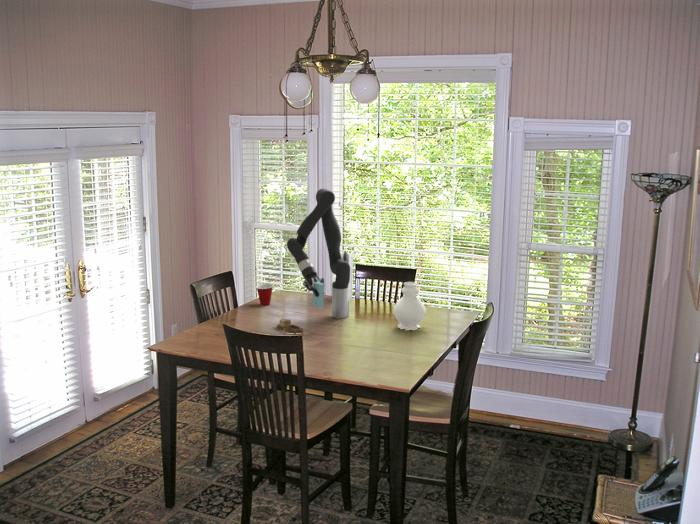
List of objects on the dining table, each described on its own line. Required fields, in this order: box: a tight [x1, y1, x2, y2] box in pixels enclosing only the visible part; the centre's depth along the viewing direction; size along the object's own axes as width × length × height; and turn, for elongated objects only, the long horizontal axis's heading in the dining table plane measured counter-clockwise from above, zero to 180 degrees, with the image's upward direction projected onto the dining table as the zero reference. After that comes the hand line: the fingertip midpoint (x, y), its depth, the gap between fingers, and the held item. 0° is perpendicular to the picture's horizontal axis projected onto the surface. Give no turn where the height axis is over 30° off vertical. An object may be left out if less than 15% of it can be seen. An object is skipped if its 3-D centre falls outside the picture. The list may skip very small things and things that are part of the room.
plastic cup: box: [255, 283, 274, 307], centre depth 437 cm, size 11×11×12 cm
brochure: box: [340, 249, 354, 301], centre depth 455 cm, size 14×6×30 cm, turn 168°
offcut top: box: [279, 317, 292, 325], centre depth 388 cm, size 5×4×2 cm
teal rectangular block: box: [311, 281, 326, 309], centre depth 386 cm, size 3×6×13 cm, turn 40°
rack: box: [272, 323, 315, 336], centre depth 384 cm, size 14×21×3 cm, turn 40°
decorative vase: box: [393, 281, 427, 331], centre depth 395 cm, size 18×18×25 cm
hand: (320, 295), depth 384 cm, fingers closed on teal rectangular block, 3 cm apart
